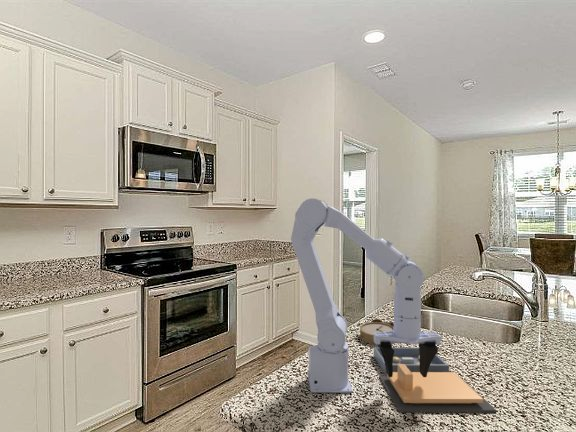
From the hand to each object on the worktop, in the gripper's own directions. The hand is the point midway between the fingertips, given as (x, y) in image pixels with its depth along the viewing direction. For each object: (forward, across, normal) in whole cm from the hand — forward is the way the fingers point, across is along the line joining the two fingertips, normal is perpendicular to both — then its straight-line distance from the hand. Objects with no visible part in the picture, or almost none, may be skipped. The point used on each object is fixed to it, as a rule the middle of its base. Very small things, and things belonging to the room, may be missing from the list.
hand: (406, 375), depth 75 cm
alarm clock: (+5, +4, +34) cm, 35 cm away
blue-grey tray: (+4, +6, +14) cm, 16 cm away
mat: (+4, +6, 0) cm, 7 cm away
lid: (+3, +6, 0) cm, 6 cm away
